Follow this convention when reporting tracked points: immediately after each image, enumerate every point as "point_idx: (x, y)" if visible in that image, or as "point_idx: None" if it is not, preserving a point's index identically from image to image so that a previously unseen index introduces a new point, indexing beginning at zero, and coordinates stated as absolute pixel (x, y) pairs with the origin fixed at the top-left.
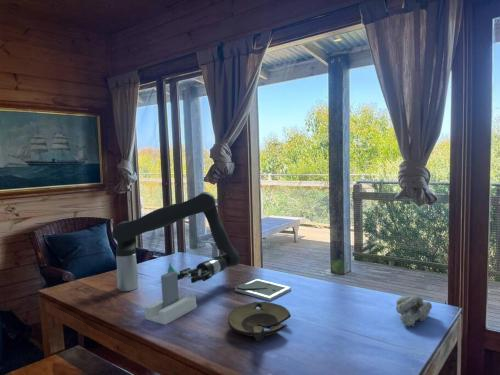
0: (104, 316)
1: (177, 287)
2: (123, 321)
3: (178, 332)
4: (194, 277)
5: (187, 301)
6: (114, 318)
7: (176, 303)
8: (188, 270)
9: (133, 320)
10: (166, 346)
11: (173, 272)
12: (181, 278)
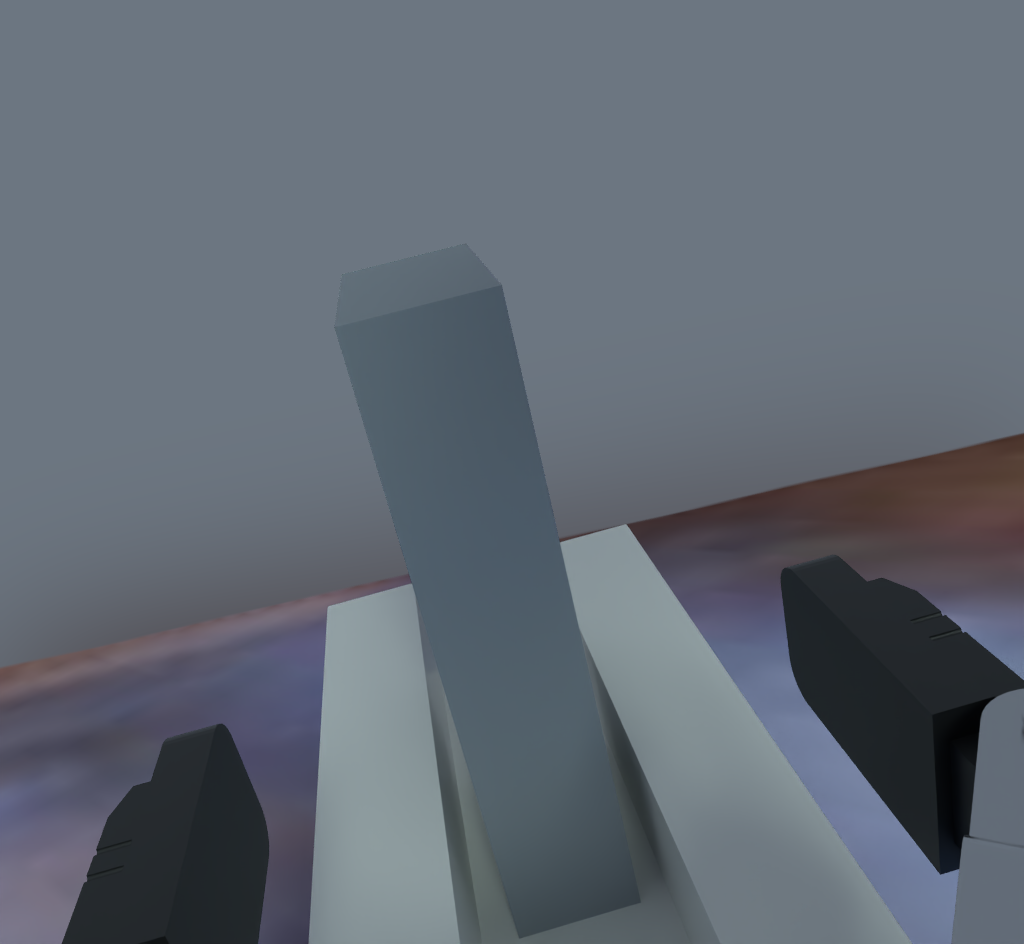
0: (983, 460)
1: (422, 615)
2: (751, 532)
3: (130, 753)
4: (151, 805)
5: (316, 921)
6: (876, 498)
7: (389, 749)
8: (979, 869)
9: (708, 576)
10: (103, 647)
11: (414, 300)
12: (879, 787)
